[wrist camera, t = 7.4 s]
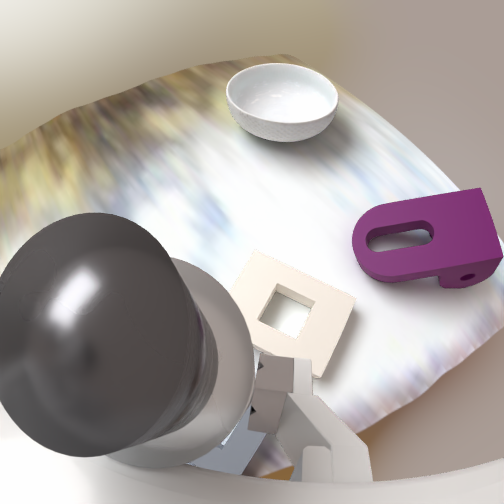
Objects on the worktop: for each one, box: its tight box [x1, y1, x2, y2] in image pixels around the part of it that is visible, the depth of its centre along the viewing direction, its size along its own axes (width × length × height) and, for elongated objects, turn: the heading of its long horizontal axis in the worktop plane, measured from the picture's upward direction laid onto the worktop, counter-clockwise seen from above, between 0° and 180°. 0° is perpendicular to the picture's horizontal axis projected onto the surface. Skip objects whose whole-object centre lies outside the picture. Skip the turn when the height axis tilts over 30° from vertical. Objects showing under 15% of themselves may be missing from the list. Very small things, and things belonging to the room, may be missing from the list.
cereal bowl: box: [226, 63, 339, 142], centre depth 43 cm, size 17×17×7 cm
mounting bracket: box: [352, 188, 503, 288], centre depth 34 cm, size 10×8×18 cm
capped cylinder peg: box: [0, 213, 255, 469], centre depth 9 cm, size 3×3×15 cm
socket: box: [190, 405, 267, 475], centre depth 26 cm, size 10×10×2 cm
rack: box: [229, 250, 356, 379], centre depth 31 cm, size 12×9×2 cm
